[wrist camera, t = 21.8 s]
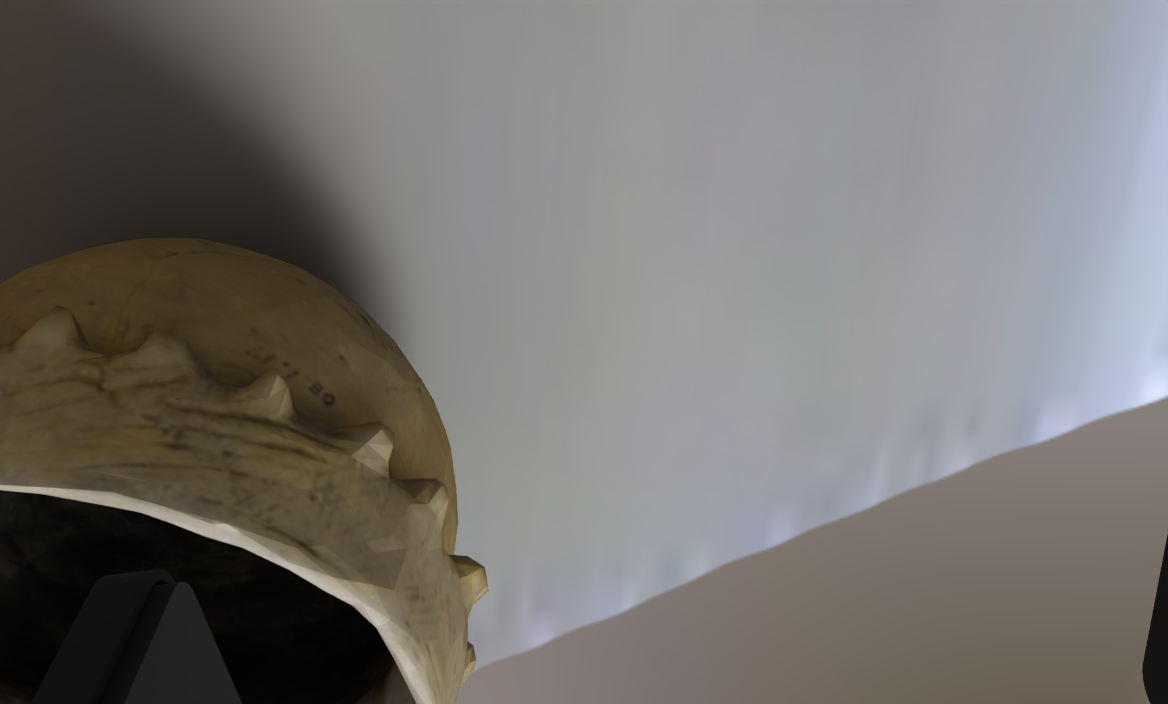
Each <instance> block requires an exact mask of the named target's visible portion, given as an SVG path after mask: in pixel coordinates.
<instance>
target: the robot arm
mask: <svg viewBox="0 0 1168 704" xmlns="http://www.w3.org/2000/svg"><path fill="white" fill-rule="evenodd" d="M1142 671H1143V681H1144V686H1145V690H1146V693H1147V696H1148V698H1149V701H1150V703H1151V704H1168V535H1167V541H1166V546H1165V551H1164V556H1163V561H1162V567H1161V572H1160V577H1159V583H1158V588H1157V593H1156V598H1155V603H1154V609H1153V614H1152V619H1151V625H1150V630H1149V635H1148V640H1147V646H1146V650H1145V656H1144V661H1143V670H1142ZM31 704H242V702H241V700H240V698H239V695H238V693H237V691H236V688H235V686H234V684H233V681H232V679H231V677H230V674H229V672H228V670H227V668H226V665H225V663H224V661H223V658H222V656H221V654H220V651H219V649H218V647H217V644H216V642H215V640H214V637H213V635H212V633H211V630H210V628H209V626H208V623H207V621H206V619H205V617H204V614H203V612H202V610H201V607H200V605H199V603H198V600H197V598H196V596H195V593H194V591H193V590H192V588H191V586H190V585H189V584H188V583H186V582H175V581H174V579H173V577H172V575H171V574H170V573H168V572H167V571H166V570H162V569H156V570H148V571H140V572H131V573H123V574H114V575H106V576H103V577H102V578H100V579H98V580H97V582H96V583H95V584H94V586H93V587H92V589H91V591H90V592H89V594H88V596H87V598H86V600H85V602H84V604H83V606H82V608H81V609H80V611H79V613H78V615H77V617H76V619H75V621H74V623H73V625H72V626H71V628H70V630H69V632H68V634H67V636H66V638H65V640H64V641H63V643H62V645H61V647H60V649H59V651H58V653H57V655H56V657H55V658H54V660H53V662H52V664H51V666H50V668H49V670H48V672H47V674H46V675H45V677H44V679H43V681H42V683H41V685H40V687H39V689H38V690H37V692H36V694H35V696H34V698H33V700H32V702H31Z"/></svg>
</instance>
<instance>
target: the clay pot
mask: <svg viewBox="0 0 1168 704" xmlns="http://www.w3.org/2000/svg"><path fill="white" fill-rule="evenodd" d="M457 526H458V514H457V494H456V484H455V477H454V470H453V463H452V456H451V448H450V444H449V441H448V438H447V434H446V431H445V428H444V425H443V423H442V420H441V418H440V415H439V413H438V410H437V408H436V405H435V403H434V400H433V399H432V397H431V395H430V393H429V392H428V390H427V388H426V387H425V385H424V383H423V382H422V380H421V379H420V377H419V376H418V374H417V373H416V371H415V370H414V369H413V367H412V366H411V364H410V363H409V361H408V360H407V359H406V357H405V356H404V354H403V353H402V351H401V350H400V348H399V347H398V346H397V344H396V343H395V341H394V340H393V339H392V338H391V337H390V336H389V335H388V334H387V333H386V332H385V331H384V330H383V329H382V328H381V327H380V326H379V325H378V324H377V323H376V322H375V321H374V320H373V319H372V318H371V317H370V316H369V315H368V314H367V313H366V312H365V311H364V310H363V309H362V308H361V307H360V306H359V305H357V304H356V303H355V302H354V301H352V300H351V299H350V298H348V297H347V296H346V295H344V294H343V293H342V292H340V291H338V290H337V289H335V288H334V287H332V286H330V285H329V284H327V283H325V282H324V281H322V280H320V279H319V278H317V277H315V276H314V275H312V274H310V273H309V272H307V271H305V270H304V269H302V268H300V267H297V266H295V265H292V264H289V263H287V262H284V261H281V260H279V259H276V258H274V257H271V256H268V255H264V254H261V253H258V252H255V251H251V250H248V249H245V248H242V247H237V246H233V245H228V244H224V243H219V242H215V241H210V240H205V239H201V238H143V239H131V240H126V241H121V242H116V243H111V244H106V245H101V246H96V247H90V248H86V249H83V250H80V251H77V252H73V253H70V254H67V255H64V256H61V257H57V258H54V259H51V260H48V261H45V262H42V263H39V264H36V265H33V266H30V267H27V268H25V269H23V270H22V271H20V272H18V273H16V274H15V275H13V276H11V277H9V278H8V279H6V280H4V281H2V282H1V283H0V704H31V702H32V700H33V698H34V696H35V694H36V692H37V690H38V689H39V687H40V685H41V683H42V681H43V679H44V677H45V675H46V674H47V672H48V670H49V668H50V666H51V664H52V662H53V660H54V658H55V657H56V655H57V653H58V651H59V649H60V647H61V645H62V643H63V641H64V640H65V638H66V636H67V634H68V632H69V630H70V628H71V626H72V625H73V623H74V621H75V619H76V617H77V615H78V613H79V611H80V609H81V608H82V606H83V604H84V602H85V600H86V598H87V596H88V594H89V592H90V591H91V589H92V587H93V586H94V584H95V583H96V582H97V580H98V579H100V578H102V577H103V576H106V575H114V574H123V573H131V572H140V571H148V570H156V569H162V570H166V571H167V572H168V573H170V574H171V575H172V577H173V579H174V581H175V582H186V583H188V584H189V585H190V586H191V588H192V590H193V591H194V593H195V596H196V598H197V600H198V603H199V605H200V607H201V610H202V612H203V614H204V617H205V619H206V621H207V623H208V626H209V628H210V630H211V633H212V635H213V637H214V640H215V642H216V644H217V647H218V649H219V651H220V654H221V656H222V658H223V661H224V663H225V665H226V668H227V670H228V672H229V674H230V677H231V679H232V681H233V684H234V686H235V688H236V691H237V693H238V695H239V698H240V700H241V702H242V704H455V702H456V698H457V695H458V692H459V689H460V687H461V686H462V685H463V683H464V682H465V681H466V679H467V678H468V677H469V675H470V674H471V672H472V671H473V670H474V667H475V663H476V657H475V651H474V646H473V645H472V644H470V643H469V642H468V641H467V640H468V616H469V613H470V611H471V609H472V606H473V604H475V603H476V602H477V601H478V600H479V599H480V598H481V597H482V596H483V595H485V594H486V593H487V592H488V591H489V590H488V584H487V578H486V572H485V567H484V566H482V565H480V564H479V563H477V562H476V561H474V560H473V559H471V558H470V557H468V556H458V555H454V549H455V541H456V534H457Z"/></svg>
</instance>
